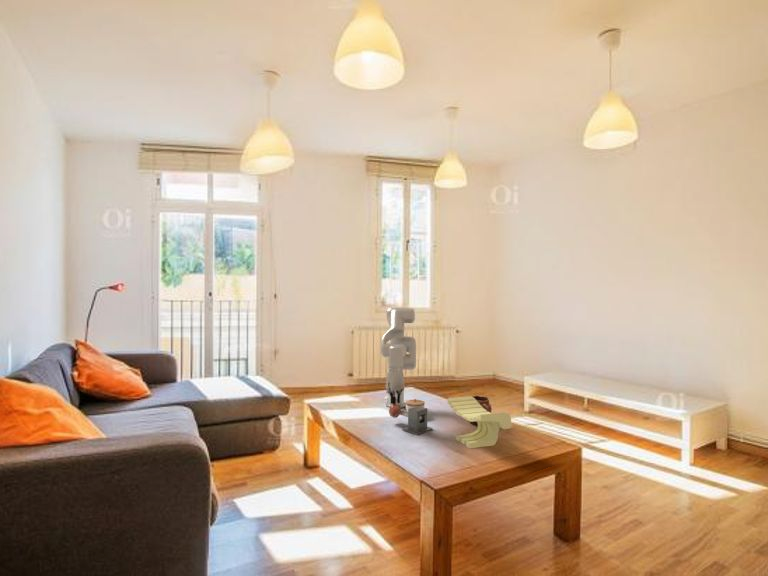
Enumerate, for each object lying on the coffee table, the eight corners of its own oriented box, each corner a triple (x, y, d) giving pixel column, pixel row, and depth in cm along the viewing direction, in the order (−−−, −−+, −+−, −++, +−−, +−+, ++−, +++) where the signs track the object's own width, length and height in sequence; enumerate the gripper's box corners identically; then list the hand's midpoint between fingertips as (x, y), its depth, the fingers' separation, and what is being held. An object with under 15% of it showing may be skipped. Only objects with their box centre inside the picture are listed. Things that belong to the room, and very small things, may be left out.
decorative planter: (499, 428, 234) (500, 401, 234) (479, 430, 230) (479, 403, 230) (479, 417, 253) (479, 392, 253) (460, 419, 249) (460, 394, 249)
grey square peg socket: (402, 430, 229) (402, 408, 229) (418, 425, 237) (418, 404, 237) (417, 435, 222) (417, 413, 222) (432, 430, 230) (433, 408, 230)
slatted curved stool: (510, 450, 203) (511, 411, 203) (480, 455, 197) (480, 414, 197) (474, 430, 231) (475, 395, 231) (447, 433, 226) (447, 398, 225)
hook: (388, 417, 240) (389, 393, 240) (397, 415, 245) (398, 391, 244) (416, 426, 225) (416, 401, 225) (425, 423, 230) (425, 398, 230)
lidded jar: (421, 419, 248) (422, 402, 248) (403, 417, 252) (403, 400, 252) (426, 414, 258) (426, 397, 258) (408, 412, 262) (408, 396, 262)
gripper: (400, 366, 249) (400, 399, 249) (380, 369, 238) (379, 404, 238) (411, 368, 244) (410, 402, 244) (390, 372, 233) (389, 407, 233)
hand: (395, 402), depth 241 cm, fingers closed on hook, 2 cm apart
